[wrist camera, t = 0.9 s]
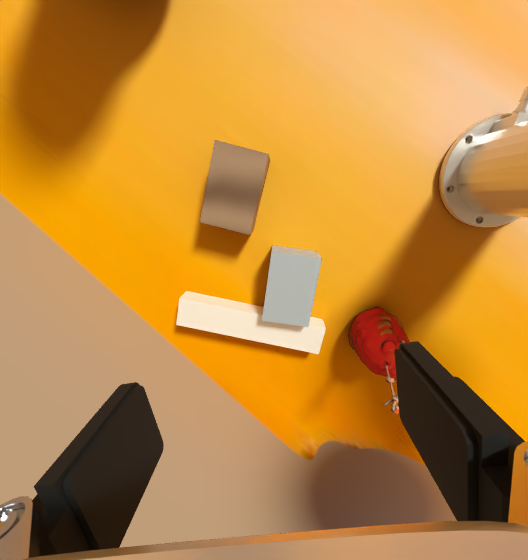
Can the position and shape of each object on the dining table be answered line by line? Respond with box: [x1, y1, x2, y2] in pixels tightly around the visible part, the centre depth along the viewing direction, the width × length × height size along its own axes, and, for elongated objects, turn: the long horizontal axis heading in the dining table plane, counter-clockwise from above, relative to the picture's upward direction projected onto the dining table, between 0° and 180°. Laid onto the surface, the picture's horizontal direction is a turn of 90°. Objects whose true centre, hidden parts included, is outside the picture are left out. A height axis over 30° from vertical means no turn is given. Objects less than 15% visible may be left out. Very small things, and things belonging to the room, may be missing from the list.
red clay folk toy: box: [348, 307, 409, 414], centre depth 33 cm, size 8×7×15 cm
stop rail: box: [176, 291, 326, 354], centre depth 40 cm, size 4×20×3 cm, turn 79°
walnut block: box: [200, 140, 270, 235], centre depth 34 cm, size 9×6×5 cm, turn 166°
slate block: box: [262, 245, 322, 327], centre depth 37 cm, size 9×6×5 cm, turn 173°
